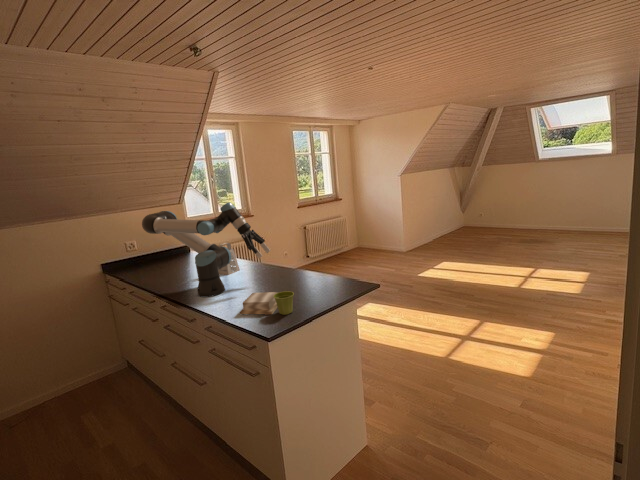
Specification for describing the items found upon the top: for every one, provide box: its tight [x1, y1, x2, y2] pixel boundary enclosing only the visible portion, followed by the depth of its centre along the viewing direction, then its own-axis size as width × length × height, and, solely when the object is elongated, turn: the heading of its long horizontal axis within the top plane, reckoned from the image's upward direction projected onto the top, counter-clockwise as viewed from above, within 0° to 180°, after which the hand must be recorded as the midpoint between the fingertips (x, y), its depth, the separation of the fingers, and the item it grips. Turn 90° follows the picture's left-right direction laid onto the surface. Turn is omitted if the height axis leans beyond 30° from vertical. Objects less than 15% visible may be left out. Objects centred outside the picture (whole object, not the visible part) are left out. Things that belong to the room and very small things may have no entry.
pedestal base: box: [239, 291, 278, 315], centre depth 176 cm, size 16×16×6 cm
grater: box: [218, 242, 240, 276], centre depth 247 cm, size 10×10×20 cm
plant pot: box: [273, 290, 295, 316], centre depth 167 cm, size 9×9×9 cm
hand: (264, 254), depth 210 cm, fingers open, 13 cm apart
